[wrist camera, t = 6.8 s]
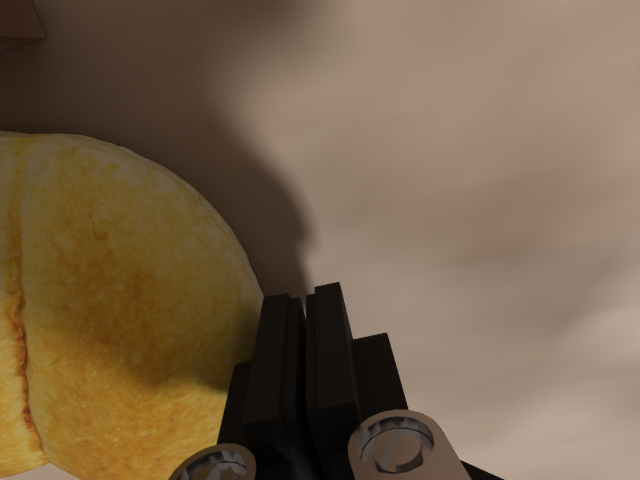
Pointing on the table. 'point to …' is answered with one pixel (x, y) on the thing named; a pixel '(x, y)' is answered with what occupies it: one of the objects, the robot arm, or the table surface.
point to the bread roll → (113, 311)
